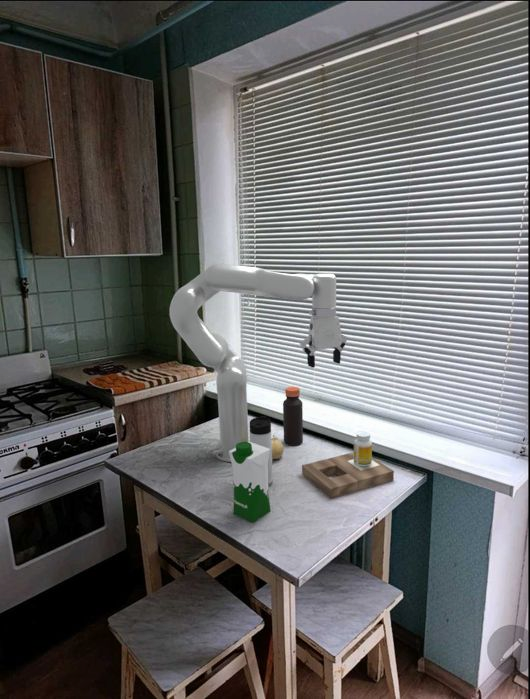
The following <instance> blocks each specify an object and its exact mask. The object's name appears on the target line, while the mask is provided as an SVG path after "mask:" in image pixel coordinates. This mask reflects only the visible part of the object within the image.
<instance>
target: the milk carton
mask: <svg viewBox="0 0 530 699" xmlns="http://www.w3.org/2000/svg"><path fill="white" fill-rule="evenodd" d="M269 454H270V449H269V448H266V447H263V446H260V445H257V444H255V443H252V442H250V441H249V442H241V443H238V444H237V445H236V448H234V449H232V450H230V451H229V455H230V459H231V462H230V463H231V466H232V484H233V509H232V510H233V514H234V515H235V516H237V517H239V518H241V519H244V520H245V521H247V522H249V523H252V524H254V523H255V522H256V521H258V520H259V519H261V518H263V517H264V516H265V515H267V514H269V513H270V512H271V505H270V503H271V502H270V497H269V487H268V459H269Z"/></svg>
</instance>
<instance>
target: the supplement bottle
mask: <svg viewBox="0 0 530 699" xmlns="http://www.w3.org/2000/svg"><path fill="white" fill-rule="evenodd" d="M353 452H354V463H355V464H356V465H358V466H363V467H366V466H369V465H371V462H372V458H373V457H372V456H373V454H372V453H373V441H372V440H371V433H370V432H368V431H366V430H365V431H364V430H363V431H358V432H356V438H355V439H354V441H353Z"/></svg>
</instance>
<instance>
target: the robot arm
mask: <svg viewBox="0 0 530 699" xmlns="http://www.w3.org/2000/svg"><path fill="white" fill-rule="evenodd" d="M220 292H226V293H235V294H246V295H254V296H259V297H271V298H279V299H287V300H292V301H293V300H294V301H295V300H296V301H304V300H308V299H309V298H310V297H311V296H312V297H311V301H312V303H311V304H312V306H311V307H312V308H311V310H309V311H308V312H309V315H310V316H312V317H310V320H309V325H308V336H307V337H306V338H304V339H303V340H301V341H300V342H299V345H300V347H301V348H302V351H303V352H304V353H305V354H306V355H307V361H306V362H307V365H308V367H310V368H312V369H314V368H315V367H316V356H315V355H314V354H315V352H317V350H318V351H319V350H320V351H321V350H328V349H333V353H332V362H333V363H336V364H338V365H340V364H341V360H342V359H341V353H342V351H343V349H344V348H345V346H346V344H347V341H348V336H345V335H343V334H342V332H341V331H342V330H341V324H340V319H339V316H338V315H337V277H336V275H335V274H333V273H317V274H311V273H310V274H309V273H299V272H298V273H295V274H293V273H292V274H291V273H282V272H277V271H272V270H268V269H264V268H261V267H257V266H256V267H255V266H246V265H245V266H244V265H236V264H229V263H228V264H227V263H223V262H214V263H211V264H209V266H208V267H207V268H206V269H205V270H204V271H202V272H201V273H200V274H198V275H197V276H195V277H194V278H193V279H192V280H190V281H189V282H187V283H186V284H185V285H183V286H182V287H180V288H179V289H178V290H177V291H176V292H175V294H173V297H172V299H171V302H170V305H169V318H170V321H171V324H172V326H173V328H174V330H175V331H176V332H177V333H178V334H179V336H180V337H181V338H182V340H183V341H184V342H185V343H186V345H187V346H188V347H189V349H190V350H191V351H192V352H193V354H194V355H195V356H196V357H197V359H198V360H199V362H200V363H201V364H202V365H203V366H206V367H208V368H212V369H214V371H215V372H216V374H217V375H216V383H215V384H216V394H217V404H218V405H217V406H218V421H219V422H218V424H219V441H217V444H216V445H214V446H208V447H206V454H212V455H214V456H216V458H217V459H219V461H220V460H221V461H224V462H228V463H232V462H231V459H230V455H229V451H230V450H232V449H234V448H236V445H237V444H238V443H241V442H250V439H249V422H248V420H249V418H248V417H249V416H248V400H247V399H248V398H247V397H248V394H247V391H248V390H247V368H246V365H245V363H244V361H243V360H242V359H241V357H240V356H239V355H238V354H237V352H236V351H235V350H234V348H232V346H231V345H230V344H229V342H227V340H226V338H224V337H223V336H222V335H220V334H218V333H215V332H214V333H213V332H212V331H211V330H210V328H209V327H208V326H207V325H206V323H205V322H204V321H203V320H202V319H201V318H200V317H199V315H198V310H199V309H200V308H201V307H202V306H203V305H204V304H205V303H206V302H208V301H210V299H212V298H213V297H214V296H215V295H217V294H219V293H220ZM307 345H308V346H307Z"/></svg>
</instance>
